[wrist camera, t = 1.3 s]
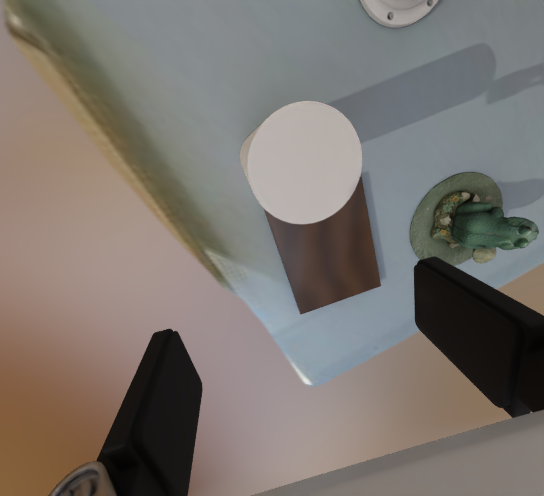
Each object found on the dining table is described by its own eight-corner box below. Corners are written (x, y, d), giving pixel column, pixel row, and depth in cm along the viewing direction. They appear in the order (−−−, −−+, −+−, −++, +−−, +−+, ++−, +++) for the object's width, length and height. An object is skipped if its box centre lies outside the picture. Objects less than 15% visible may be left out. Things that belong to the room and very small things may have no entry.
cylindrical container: (296, 149, 39) (385, 150, 16) (270, 190, 41) (317, 243, 18) (256, 120, 37) (292, 71, 14) (230, 163, 39) (224, 185, 15)
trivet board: (357, 175, 42) (361, 176, 40) (376, 282, 50) (381, 285, 48) (264, 208, 42) (265, 210, 40) (298, 310, 50) (300, 314, 48)
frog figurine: (486, 263, 52) (552, 293, 41) (402, 270, 50) (448, 303, 39) (514, 170, 45) (601, 177, 34) (419, 174, 43) (480, 183, 32)
